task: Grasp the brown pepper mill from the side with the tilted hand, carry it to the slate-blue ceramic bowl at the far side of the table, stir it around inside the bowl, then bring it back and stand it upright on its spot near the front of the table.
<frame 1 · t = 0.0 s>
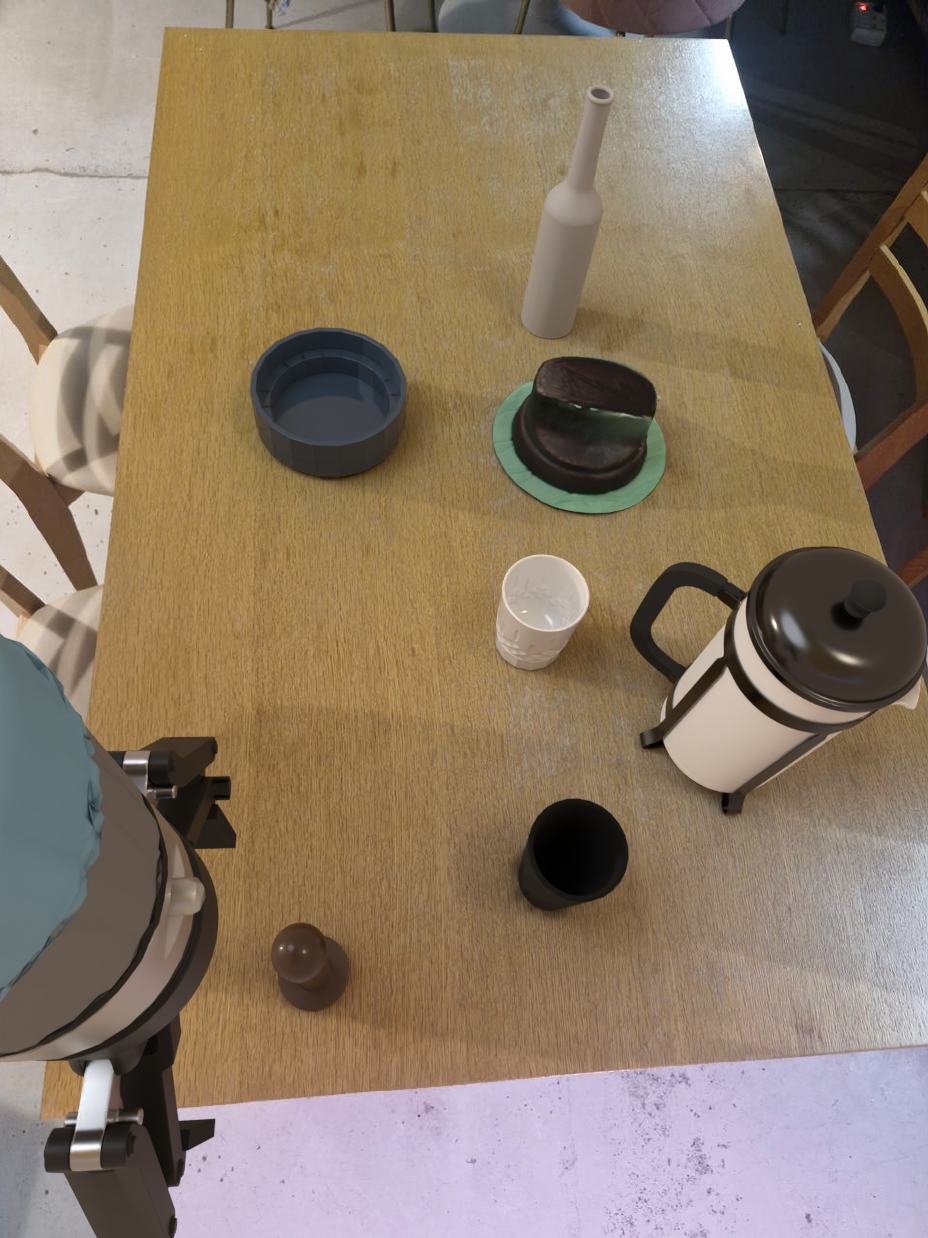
hand: (199, 975, 44), 27 cm above the table, tool pointing down, fingers open, 13 cm apart
chocolate cake: (579, 443, 97), on the table
cup: (548, 878, 74), on the table
bowl: (331, 421, 95), on the table
white cup: (527, 641, 85), on the table
bottle: (546, 320, 105), on the table
coffee press: (699, 734, 82), on the table
brown pepper mill: (314, 973, 69), on the table
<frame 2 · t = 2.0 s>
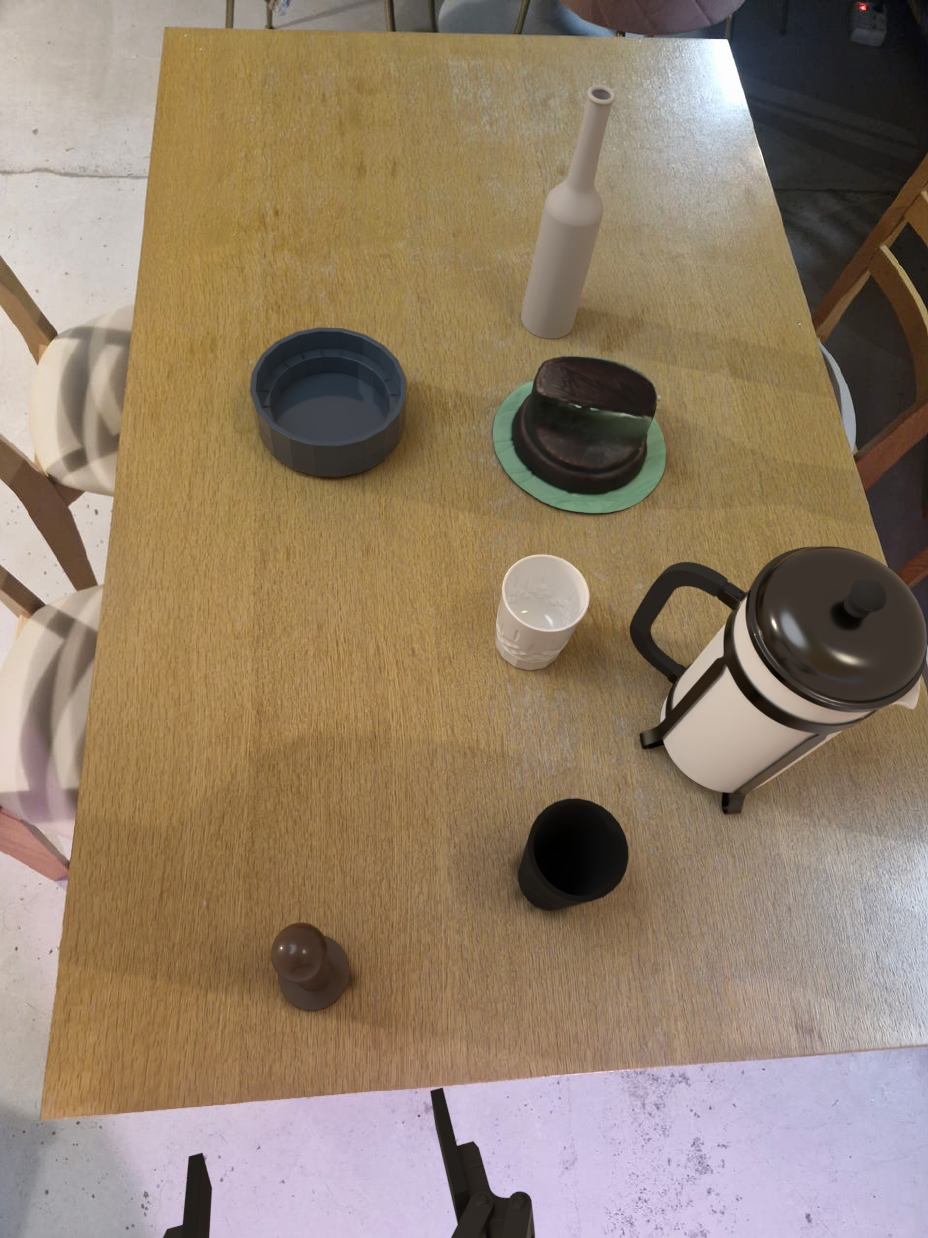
hand: (322, 1138, 48), 18 cm above the table, tool tilted 45°, fingers open, 13 cm apart
nothing on the table moved.
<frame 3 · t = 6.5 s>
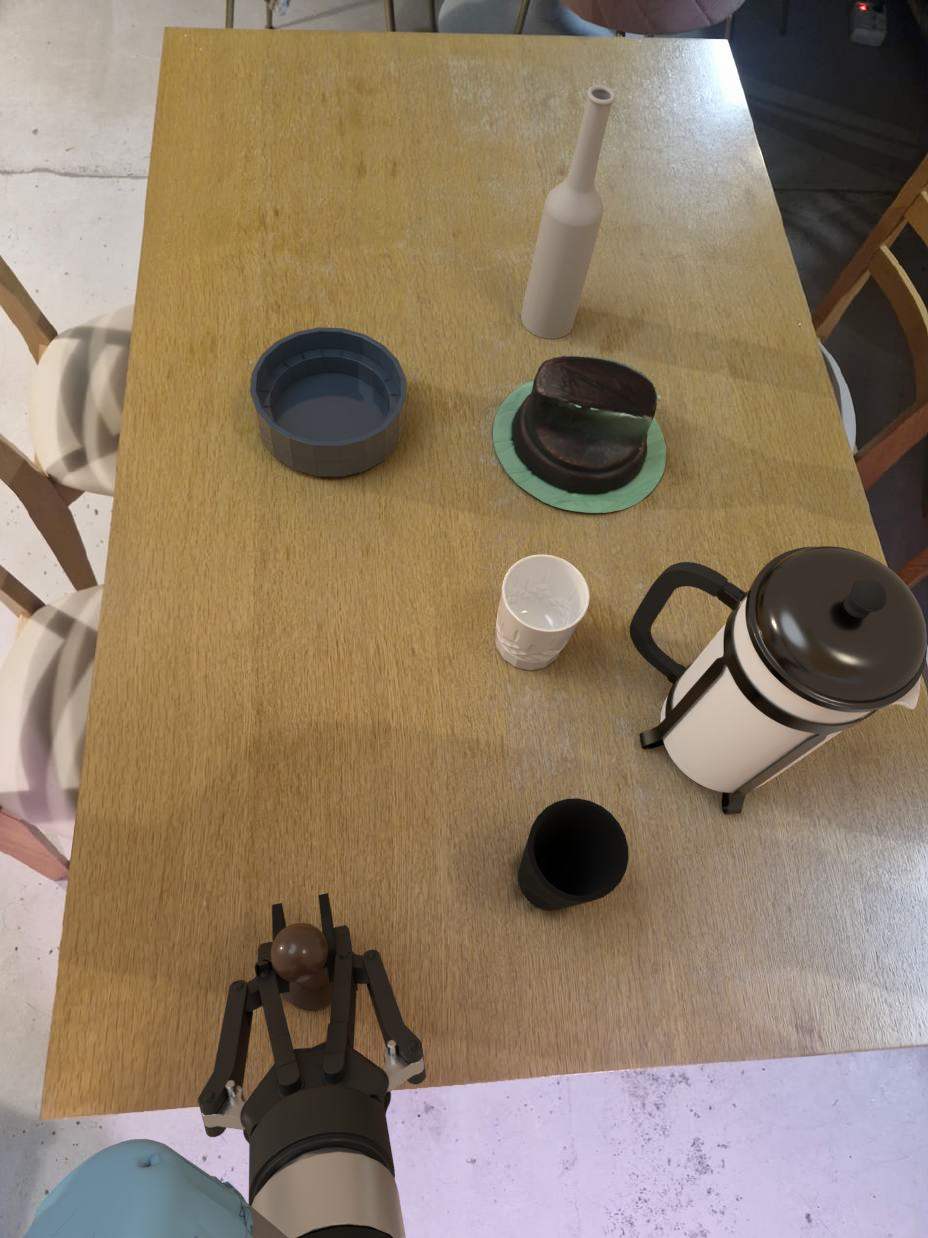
hand: (302, 914, 65), 6 cm above the table, tool tilted 45°, fingers closed on brown pepper mill, 3 cm apart
brown pepper mill: (314, 973, 69), on the table, touching gripper
everything else where it was.
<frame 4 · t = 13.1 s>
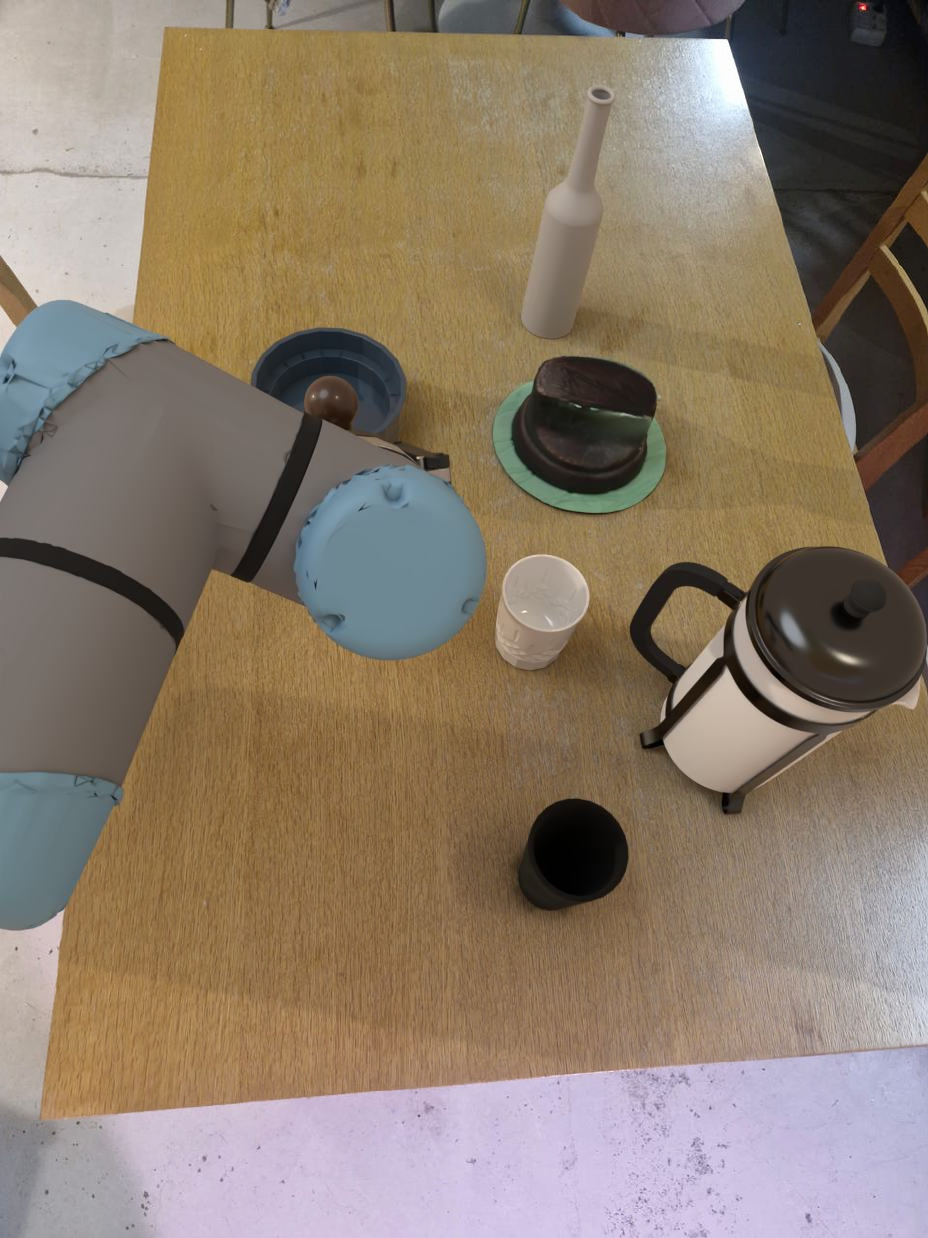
hand: (329, 453, 68), 20 cm above the table, tool tilted 45°, fingers closed on brown pepper mill, 3 cm apart
brown pepper mill: (339, 536, 72), point 14 cm above the table, touching gripper
everything else where it was.
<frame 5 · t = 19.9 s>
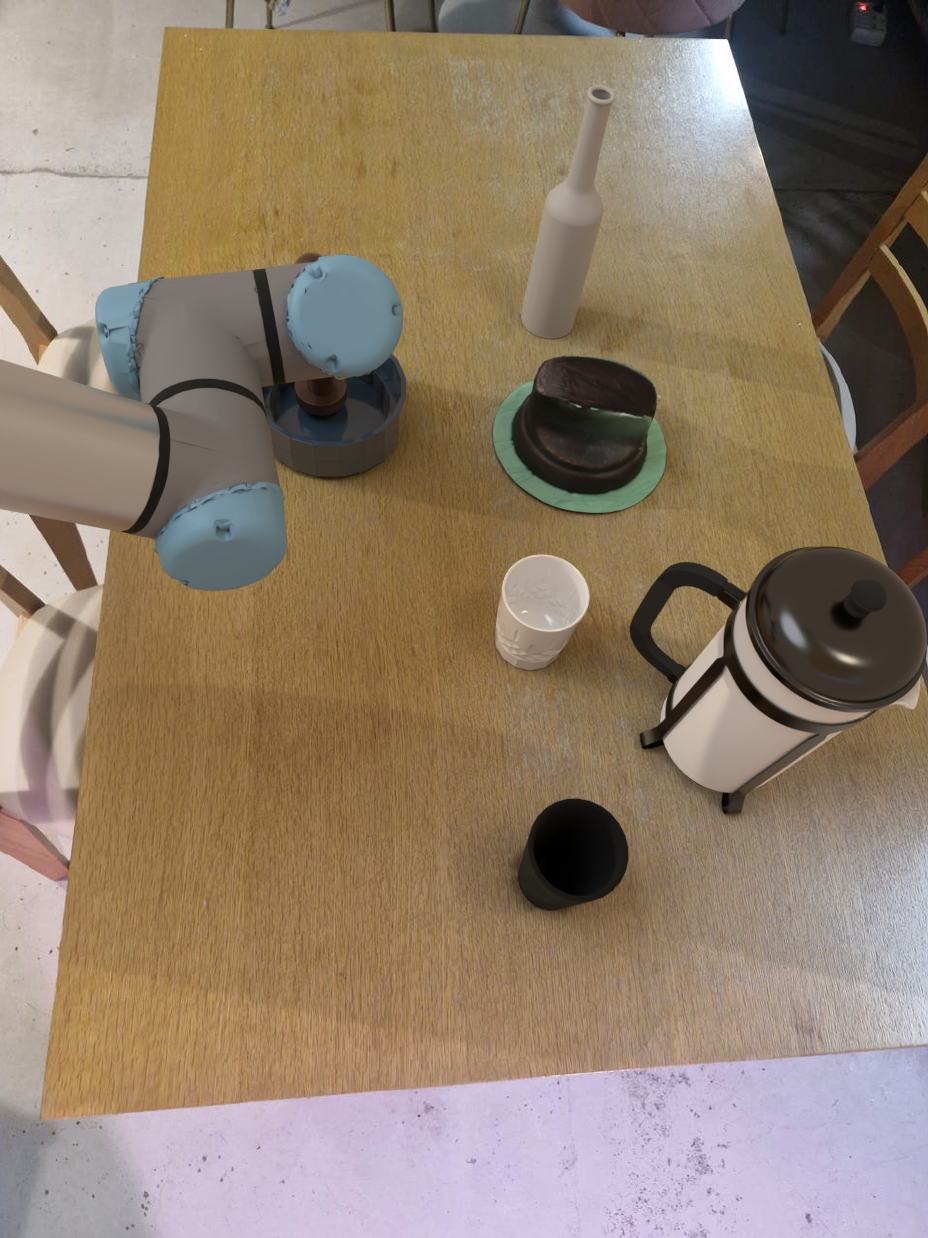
hand: (312, 327, 90), 8 cm above the table, tool tilted 45°, fingers closed on brown pepper mill, 3 cm apart
brown pepper mill: (321, 395, 93), point 2 cm above the table, touching gripper
everything else where it was.
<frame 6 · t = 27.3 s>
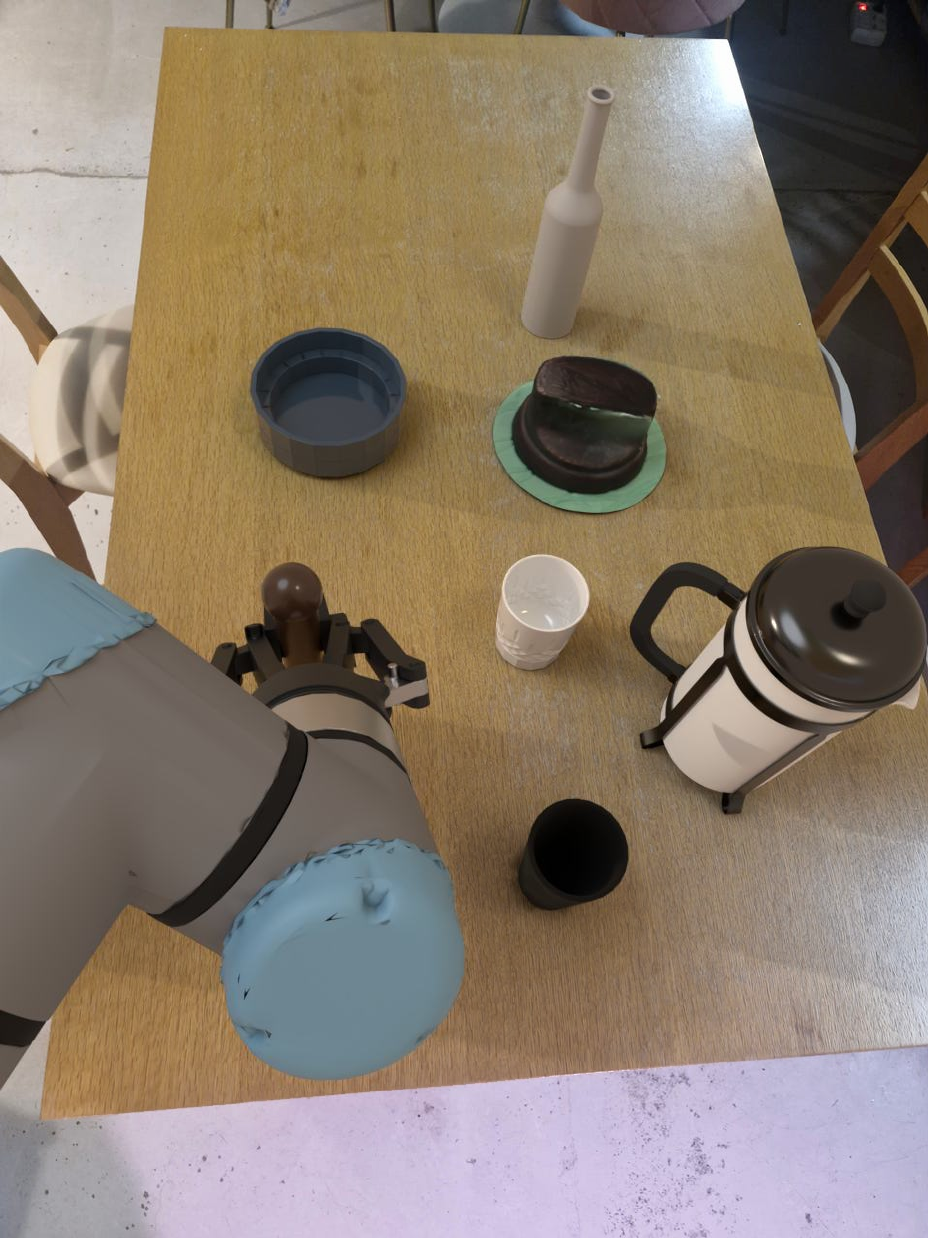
hand: (296, 615, 61), 20 cm above the table, tool tilted 45°, fingers closed on brown pepper mill, 3 cm apart
brown pepper mill: (310, 696, 65), point 14 cm above the table, touching gripper
everything else where it was.
when the fingers open (6 cm above the table, at t = 33.5 s): brown pepper mill stays where it is, on the table.
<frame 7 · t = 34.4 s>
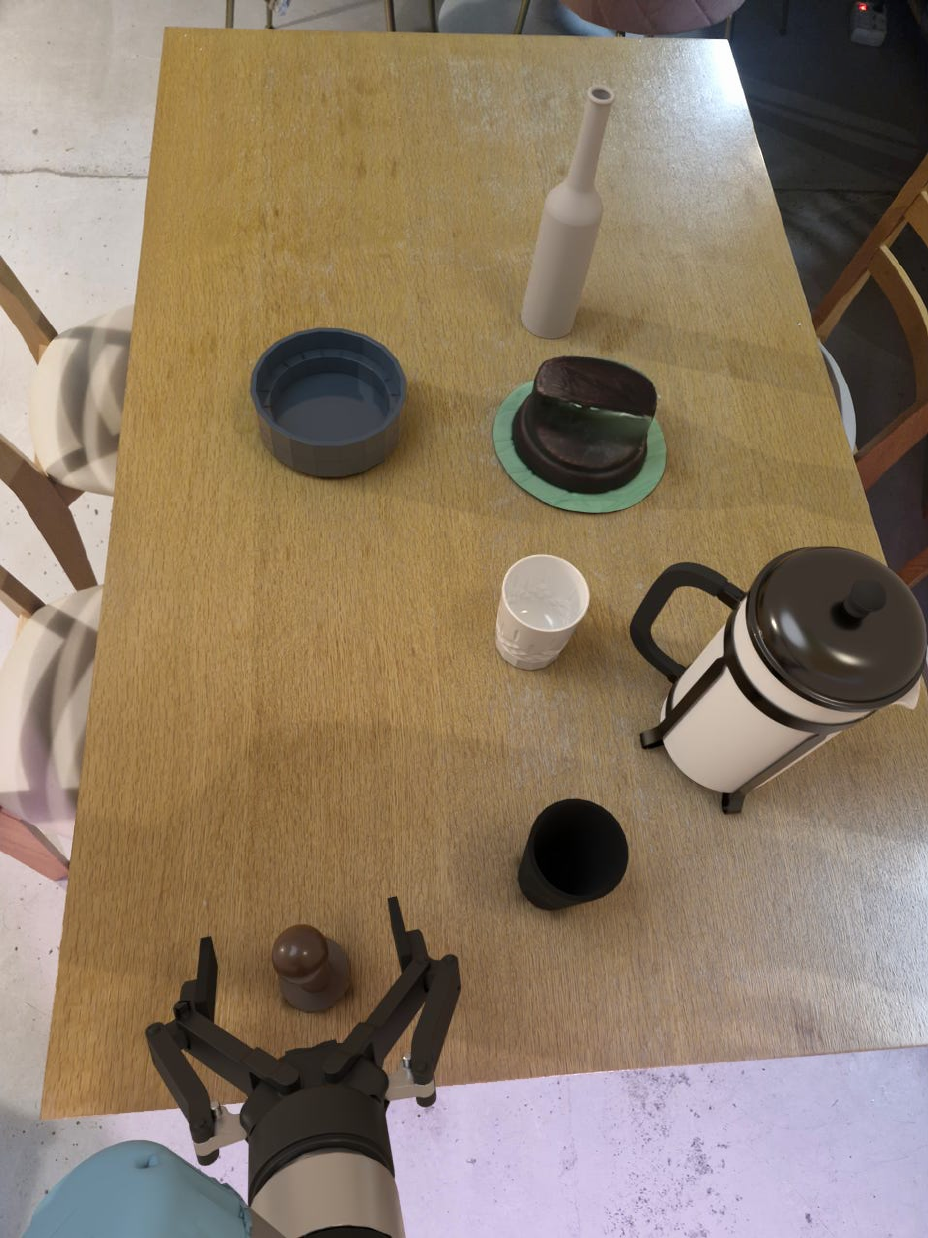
hand: (303, 931, 63), 8 cm above the table, tool tilted 45°, fingers open, 13 cm apart
brown pepper mill: (315, 975, 69), on the table
everything else where it was.
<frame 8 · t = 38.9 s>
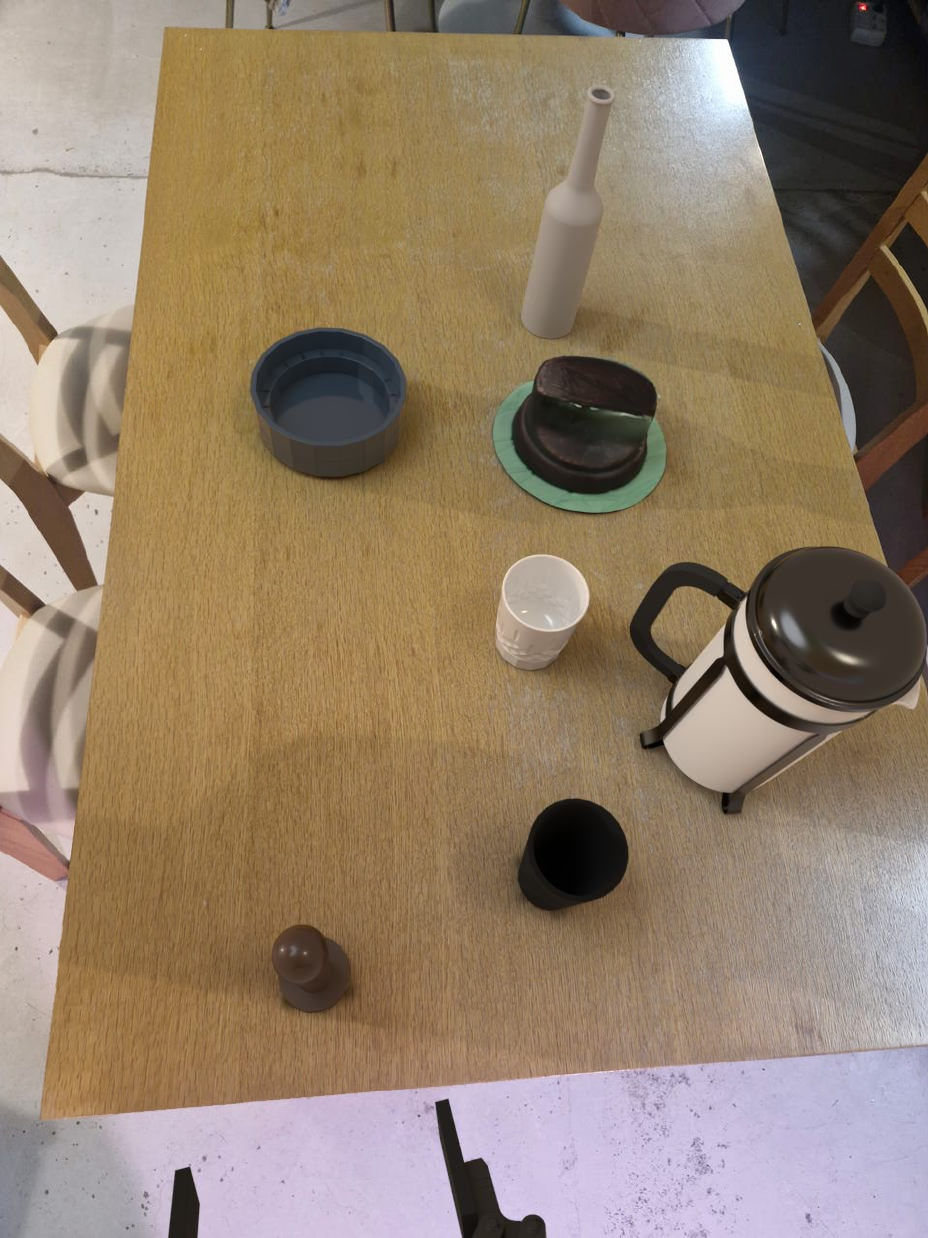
hand: (319, 1151, 45), 22 cm above the table, tool tilted 45°, fingers open, 13 cm apart
nothing on the table moved.
at the end: brown pepper mill tilted 0°; the gripper is holding nothing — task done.
